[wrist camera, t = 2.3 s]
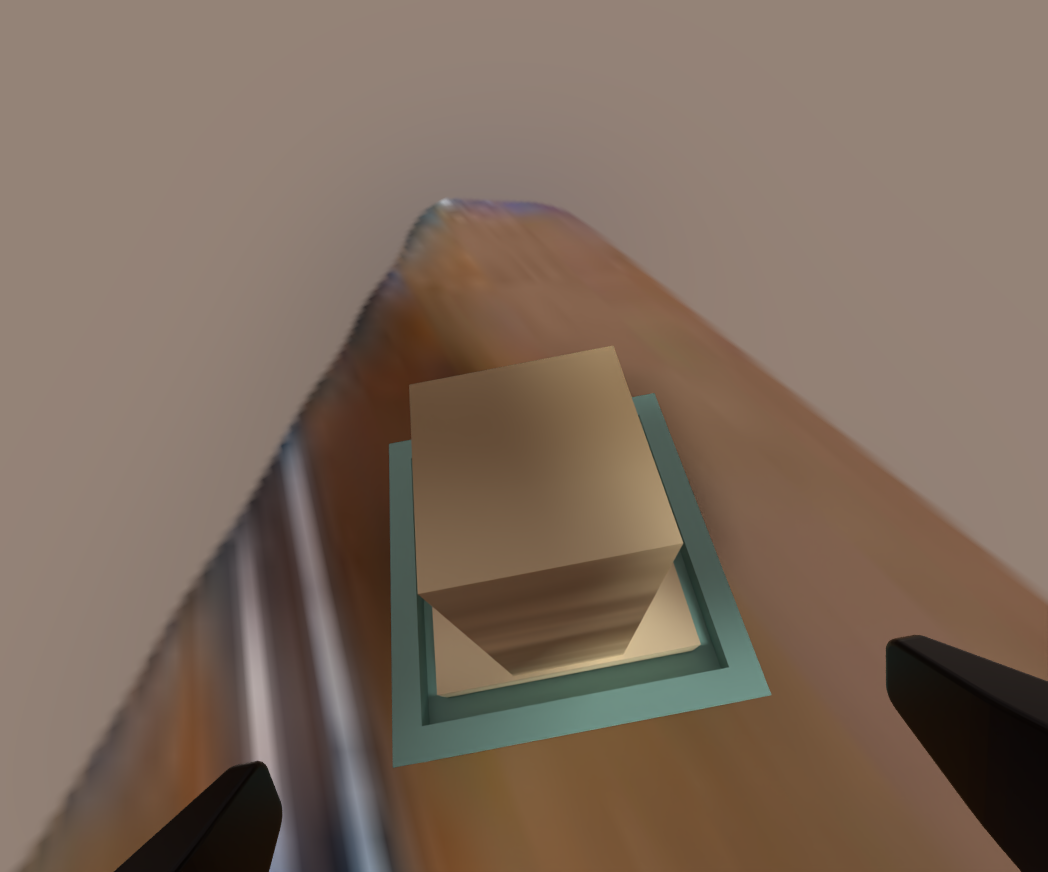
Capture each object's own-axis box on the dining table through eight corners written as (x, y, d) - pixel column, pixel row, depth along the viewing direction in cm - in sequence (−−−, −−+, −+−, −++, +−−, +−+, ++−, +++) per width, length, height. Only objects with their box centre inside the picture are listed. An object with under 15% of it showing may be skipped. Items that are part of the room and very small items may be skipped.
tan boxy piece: (691, 650, 14) (873, 515, 5) (447, 697, 14) (229, 639, 5) (624, 442, 18) (666, 166, 9) (432, 479, 18) (293, 238, 9)
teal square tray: (732, 702, 16) (771, 694, 12) (431, 760, 16) (392, 767, 12) (642, 445, 21) (654, 393, 18) (418, 488, 21) (389, 443, 18)
